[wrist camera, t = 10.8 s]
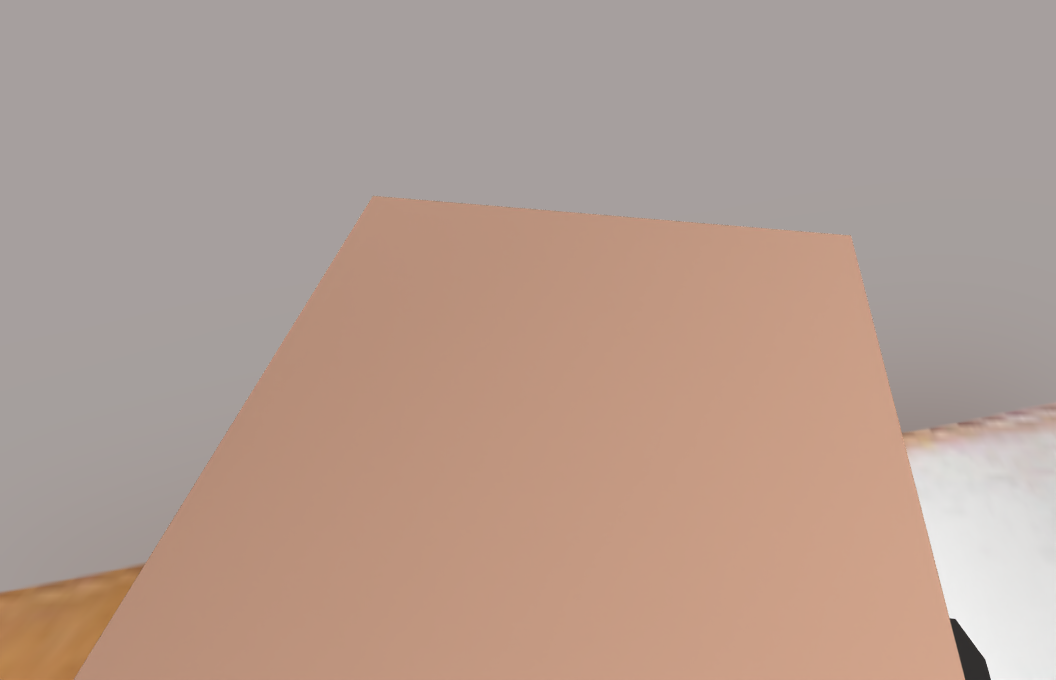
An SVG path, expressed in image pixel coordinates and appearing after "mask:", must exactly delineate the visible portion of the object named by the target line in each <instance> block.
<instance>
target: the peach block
mask: <svg viewBox="0 0 1056 680" xmlns="http://www.w3.org/2000/svg"><path fill="white" fill-rule="evenodd" d="M74 680H965V677H964V673H963V669H962V665H961V662H960V658H959V654H958V650H957V646H956V642H955V638H954V634H953V630H952V627H951V623H950V619H949V615H948V611H947V607H946V603H945V599H944V595H943V592H942V588H941V584H940V580H939V576H938V572H937V568H936V564H935V560H934V557H933V553H932V549H931V545H930V541H929V537H928V533H927V529H926V525H925V522H924V518H923V514H922V510H921V506H920V502H919V498H918V494H917V490H916V487H915V483H914V479H913V475H912V471H911V467H910V463H909V459H908V455H907V452H906V448H905V444H904V440H903V436H902V432H901V428H900V424H899V420H898V417H897V413H896V409H895V405H894V401H893V397H892V393H891V389H890V385H889V382H888V378H887V374H886V370H885V366H884V362H883V358H882V354H881V350H880V347H879V343H878V339H877V335H876V331H875V327H874V324H873V319H872V315H871V312H870V308H869V304H868V300H867V296H866V292H865V288H864V285H863V280H862V277H861V273H860V269H859V265H858V261H857V257H856V253H855V249H854V245H853V241H852V238H851V236H850V235H837V234H825V233H814V232H802V231H790V230H777V229H765V228H753V227H741V226H729V225H717V224H705V223H693V222H680V221H669V220H657V219H645V218H632V217H621V216H608V215H596V214H585V213H572V212H560V211H549V210H536V209H525V208H511V207H500V206H488V205H476V204H463V203H452V202H440V201H428V200H415V199H404V198H392V197H380V196H373V197H372V199H371V200H370V202H369V203H368V205H367V207H366V208H365V210H364V212H363V213H362V215H361V216H360V218H359V219H358V221H357V223H356V224H355V226H354V228H353V229H352V231H351V232H350V234H349V236H348V238H347V239H346V240H345V242H344V244H343V246H342V247H341V249H340V250H339V252H338V254H337V255H336V257H335V258H334V260H333V261H332V263H331V265H330V266H329V268H328V270H327V271H326V273H325V274H324V276H323V278H322V279H321V281H320V283H319V284H318V286H317V287H316V289H315V291H314V292H313V294H312V295H311V297H310V299H309V300H308V302H307V304H306V305H305V307H304V308H303V310H302V312H301V313H300V315H299V316H298V318H297V320H296V322H295V323H294V325H293V326H292V328H291V330H290V331H289V333H288V334H287V336H286V337H285V339H284V341H283V342H282V344H281V346H280V347H279V349H278V350H277V352H276V354H275V355H274V357H273V358H272V360H271V362H270V363H269V365H268V367H267V368H266V370H265V371H264V373H263V375H262V376H261V378H260V379H259V381H258V383H257V384H256V386H255V388H254V389H253V391H252V393H251V394H250V396H249V397H248V399H247V400H246V402H245V404H244V405H243V407H242V409H241V410H240V412H239V413H238V415H237V417H236V418H235V420H234V422H233V423H232V425H231V426H230V428H229V430H228V431H227V433H226V434H225V436H224V438H223V439H222V441H221V442H220V444H219V446H218V447H217V449H216V451H215V452H214V454H213V456H212V457H211V459H210V460H209V462H208V463H207V465H206V467H205V468H204V470H203V472H202V473H201V475H200V476H199V478H198V480H197V481H196V483H195V484H194V486H193V488H192V489H191V491H190V493H189V494H188V496H187V497H186V499H185V501H184V502H183V504H182V505H181V507H180V509H179V510H178V512H177V514H176V515H175V517H174V518H173V520H172V522H171V523H170V525H169V527H168V528H167V530H166V532H165V533H164V535H163V536H162V538H161V540H160V541H159V543H158V544H157V546H156V548H155V549H154V551H153V552H152V554H151V556H150V557H149V559H148V560H147V562H146V564H145V565H144V567H143V568H142V570H141V572H140V573H139V575H138V577H137V578H136V580H135V581H134V583H133V585H132V586H131V588H130V590H129V591H128V593H127V594H126V596H125V598H124V599H123V601H122V602H121V604H120V606H119V607H118V609H117V611H116V612H115V614H114V615H113V617H112V619H111V620H110V622H109V623H108V625H107V627H106V628H105V630H104V632H103V633H102V635H101V636H100V638H99V640H98V641H97V643H96V644H95V646H94V648H93V649H92V651H91V653H90V654H89V656H88V657H87V659H86V661H85V662H84V664H83V665H82V667H81V669H80V670H79V672H78V674H77V675H76V677H75V678H74Z"/></svg>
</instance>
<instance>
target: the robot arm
mask: <svg viewBox="0 0 1056 680" xmlns="http://www.w3.org/2000/svg"><path fill="white" fill-rule="evenodd" d="M949 619H950V623H951V627H952V630H953V634H954V638H955V642H956V646H957V650H958V654H959V658H960V662H961V665H962V669H963V673H964V677H965V680H991V678H990V675H989V671H988V668H987V664H986V661H985V659H984V657H983V656H982V655H981V653H980V652H979V651H978V649H977V648H976V647H975V645H974V644H973V642H972V641H971V640H970V638H969V637H968V636H967V634H966V633H965V632H964V630H963V629H962V627H961V626H960V625H959V623H958V622H957V621H956V619H951V618H949Z"/></svg>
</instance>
